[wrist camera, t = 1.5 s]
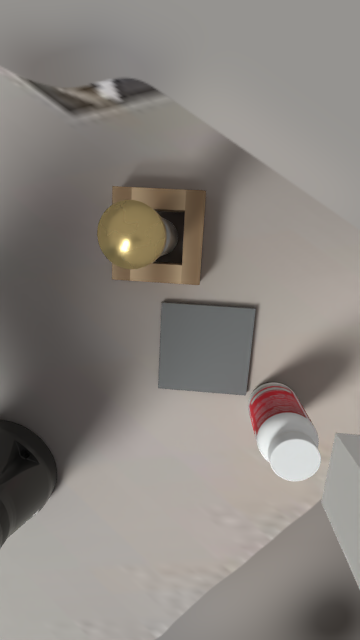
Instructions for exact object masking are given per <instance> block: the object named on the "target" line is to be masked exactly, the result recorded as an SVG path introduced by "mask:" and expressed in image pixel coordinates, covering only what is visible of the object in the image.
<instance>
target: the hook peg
mask: <svg viewBox="0 0 360 640" xmlns="http://www.w3.org/2000/svg"><path fill="white" fill-rule="evenodd" d="M97 236H98V242H99V245H100V248H101V250H102V252H103V254H104V255H105V256H106V258H107V259H108V260H109V261H111V262H112V263H113V264H115V265H117V266H119V267H121V268H125V269H139V268H142V267H145V266H147V265H149V264H151V263H153V262H154V261H155V260H157V259H158V257H160V256H162V255H165V254H168V253H170V252H171V251H172V250H173V249H174V248H175V247H176V245H177V242H178V232H177V229H176V227H175V226H174V225H173V224H172V223H171V222H170V221H168V220H166V219H164V218H162V217H161V216H160V215H159V214H158V213H157V212H156V211H155V210H154V209H153V208H151V207H150V206H148V205H146V204H145V203H142V202H140V201H136V200H122V201H119V202H117V203H115V204H113V205H111V206H110V207H109V208H108V209H107V210H106V211H105V212H104V213H103V215H102V217H101V219H100V221H99V224H98V231H97Z"/></svg>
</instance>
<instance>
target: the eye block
mask: <svg viewBox="0 0 360 640" xmlns="http://www.w3.org/2000/svg"><path fill="white" fill-rule="evenodd" d="M205 199H206V191H203V190H182V189H160V188H139V187H118V186H112V205H113V204H115V203H117V202H119V201H122V200H136V201H140V202H142V203H145V204H146V205H148V206H150V207H151V208H153V209H154V210H155V211H163V212H182V213H185V219H184V237H183V255H182V263H170V262H153V263H151V264H149V265H147V266H145V267H142V268H139V269H125V268H121V267H119V266H117V265H115V264H113V263H112V279H113V280H129V281H144V282H160V283H175V284H191V285H199V284H200V271H201V257H202V242H203V228H204V213H205Z"/></svg>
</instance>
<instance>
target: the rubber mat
mask: <svg viewBox="0 0 360 640" xmlns="http://www.w3.org/2000/svg"><path fill="white" fill-rule="evenodd" d="M255 311H256V309H255V308H247V307H232V306H218V305H203V304H188V303H173V302H162V309H161V333H160V358H159V382H158V388H163V389H175V390H187V391H198V392H210V393H222V394H234V395H246V391H247V382H248V373H249V364H250V355H251V347H252V338H253V329H254V320H255Z"/></svg>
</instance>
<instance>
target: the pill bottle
mask: <svg viewBox="0 0 360 640" xmlns="http://www.w3.org/2000/svg"><path fill="white" fill-rule="evenodd" d="M248 409H249V414H250V418H251V422H252V426H253V430H254V434H255V437H256V441H257V445H258V448H259V450H260V452H261V454H262V455H263V457H264V458H265V459H266V460H267V461H268V462H270V465H271V467H272V469H273V471H274V472H275V473H276V474H277V475H278V476H279V477H281V478H283V479H285V480H288V481H301V480H305V479H307V478H309V477H311V476H312V475H314V474H315V473H316V471H317V470H318V468H319V466H320V463H321V456H320V452H319V450H318V442H319V441H318V434H317V431H316V429H315V427H314V425H313V423H312V422H311V420H310V419H309V417H308V415H307V413H306V412H305V410H304V408H303V406H302V405H301V403H300V401H299V399H298V398H297V396H296V394H295V393H294V392H293V391H292V390H291V389H290V388H289V387H288V386H286V385H284V384H281V383H276V382H272V383H266V384H263V385H261V386H259V387H258V388H256V389H255V390H254V391H253V393H252V394H251V396H250V398H249V402H248Z"/></svg>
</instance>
